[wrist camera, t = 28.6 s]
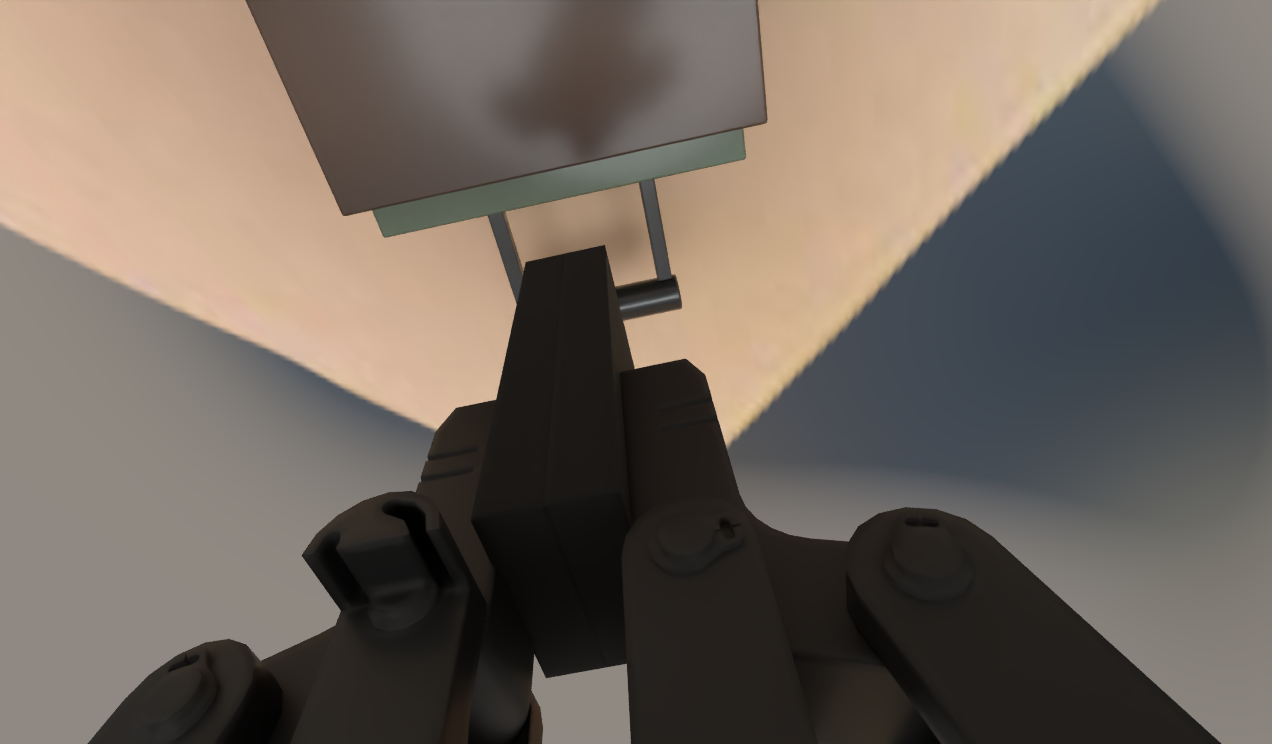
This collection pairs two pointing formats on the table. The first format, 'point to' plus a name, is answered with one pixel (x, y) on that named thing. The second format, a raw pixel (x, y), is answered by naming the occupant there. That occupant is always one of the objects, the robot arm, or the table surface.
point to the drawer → (571, 183)
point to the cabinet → (505, 85)
